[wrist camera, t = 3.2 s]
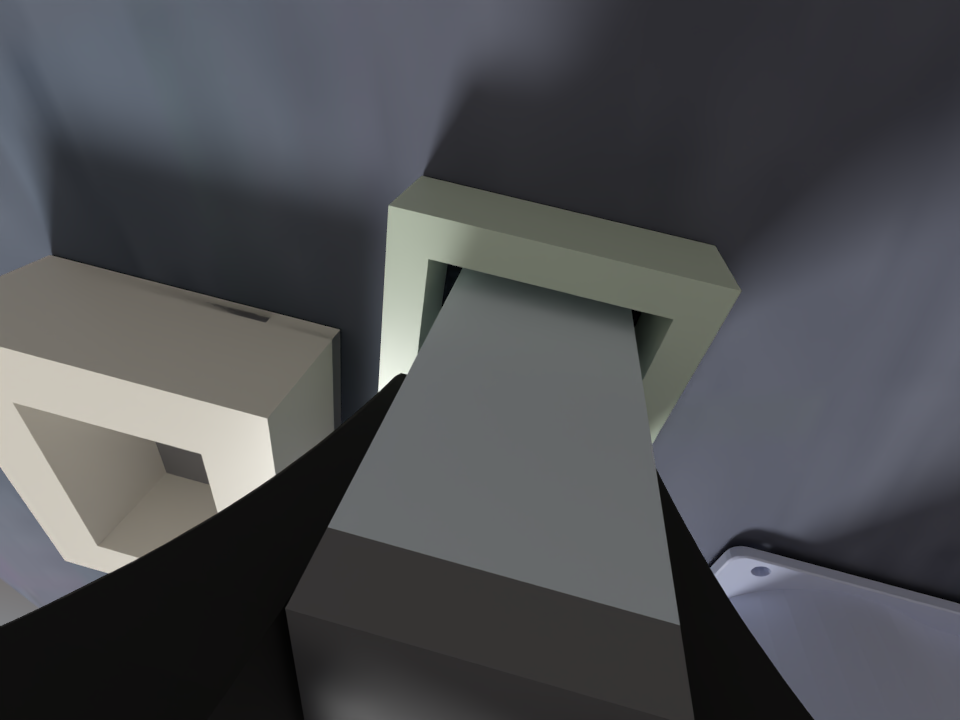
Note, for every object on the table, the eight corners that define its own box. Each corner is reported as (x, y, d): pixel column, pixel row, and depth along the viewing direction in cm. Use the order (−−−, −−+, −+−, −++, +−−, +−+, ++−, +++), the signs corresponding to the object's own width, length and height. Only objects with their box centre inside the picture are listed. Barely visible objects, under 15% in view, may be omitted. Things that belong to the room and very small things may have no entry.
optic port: (340, 329, 12) (260, 427, 9) (342, 535, 18) (293, 636, 15) (49, 254, 13) (-116, 324, 10) (144, 480, 19) (58, 567, 16)
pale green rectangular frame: (715, 245, 9) (741, 291, 8) (593, 482, 14) (595, 542, 12) (421, 175, 10) (388, 205, 8) (397, 430, 14) (373, 481, 13)
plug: (628, 286, 10) (696, 727, 4) (563, 441, 13) (540, 832, 7) (472, 248, 10) (285, 609, 4) (444, 410, 13) (312, 763, 7)
